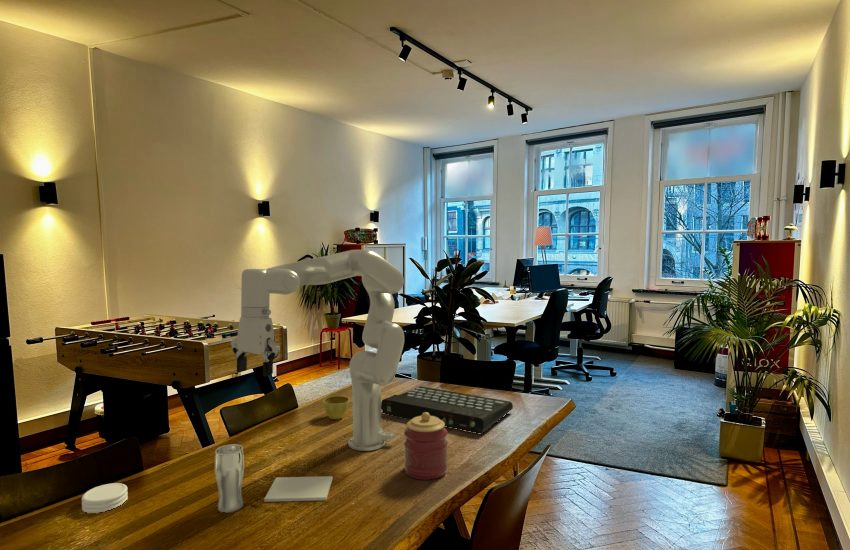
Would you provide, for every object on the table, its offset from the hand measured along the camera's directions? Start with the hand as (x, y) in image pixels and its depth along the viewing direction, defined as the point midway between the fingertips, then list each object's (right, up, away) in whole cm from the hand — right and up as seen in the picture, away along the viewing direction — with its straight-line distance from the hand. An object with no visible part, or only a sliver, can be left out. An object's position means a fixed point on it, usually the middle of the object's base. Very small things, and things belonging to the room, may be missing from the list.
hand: (254, 373), depth 138 cm
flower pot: (+13, -29, +54) cm, 63 cm away
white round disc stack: (-35, -32, -11) cm, 49 cm away
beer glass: (-2, -32, -13) cm, 34 cm away
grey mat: (+14, -31, -4) cm, 34 cm away
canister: (+48, -31, +8) cm, 58 cm away
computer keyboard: (+57, -29, +59) cm, 87 cm away
